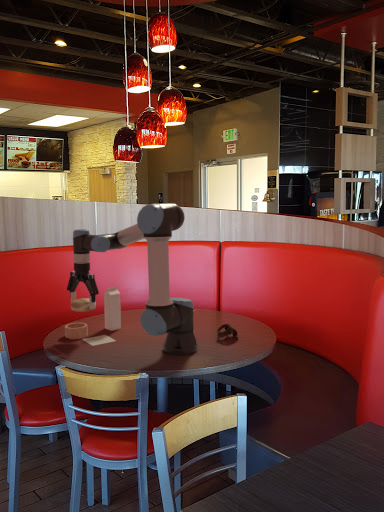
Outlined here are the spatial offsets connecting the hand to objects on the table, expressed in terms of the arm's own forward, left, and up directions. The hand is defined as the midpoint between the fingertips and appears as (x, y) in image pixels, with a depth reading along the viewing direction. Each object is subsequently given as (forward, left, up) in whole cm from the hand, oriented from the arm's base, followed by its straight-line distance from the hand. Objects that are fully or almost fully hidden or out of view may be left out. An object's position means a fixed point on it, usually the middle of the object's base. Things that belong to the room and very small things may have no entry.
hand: (82, 307), depth 225 cm
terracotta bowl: (+4, +2, -15) cm, 16 cm away
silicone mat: (-9, -4, -15) cm, 18 cm away
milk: (+5, -18, -15) cm, 24 cm away
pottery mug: (-41, -56, -16) cm, 71 cm away
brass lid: (0, 0, -1) cm, 1 cm away
